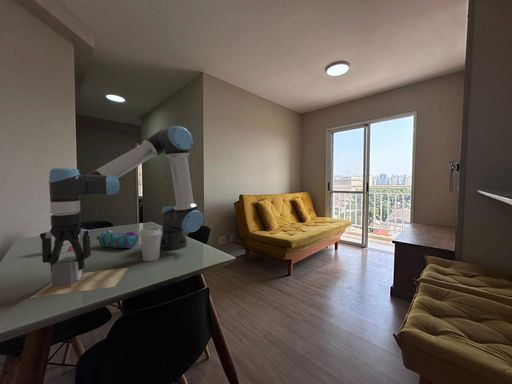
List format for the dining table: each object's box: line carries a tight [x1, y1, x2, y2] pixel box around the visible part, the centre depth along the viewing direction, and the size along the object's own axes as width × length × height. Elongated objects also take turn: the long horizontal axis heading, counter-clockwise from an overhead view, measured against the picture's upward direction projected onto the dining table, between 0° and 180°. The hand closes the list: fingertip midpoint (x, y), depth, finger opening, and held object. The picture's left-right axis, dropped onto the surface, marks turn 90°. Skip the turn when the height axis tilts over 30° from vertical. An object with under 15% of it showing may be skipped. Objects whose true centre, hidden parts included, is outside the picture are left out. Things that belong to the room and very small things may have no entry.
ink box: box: [60, 240, 74, 253], centre depth 109 cm, size 8×5×12 cm, turn 133°
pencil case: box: [96, 229, 139, 249], centre depth 116 cm, size 21×9×10 cm, turn 76°
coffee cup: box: [138, 227, 162, 262], centre depth 94 cm, size 10×10×15 cm
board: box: [30, 267, 129, 299], centre depth 73 cm, size 22×16×2 cm
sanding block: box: [50, 255, 84, 290], centre depth 71 cm, size 8×5×8 cm, turn 19°
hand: (68, 279), depth 71 cm, fingers closed on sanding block, 5 cm apart
